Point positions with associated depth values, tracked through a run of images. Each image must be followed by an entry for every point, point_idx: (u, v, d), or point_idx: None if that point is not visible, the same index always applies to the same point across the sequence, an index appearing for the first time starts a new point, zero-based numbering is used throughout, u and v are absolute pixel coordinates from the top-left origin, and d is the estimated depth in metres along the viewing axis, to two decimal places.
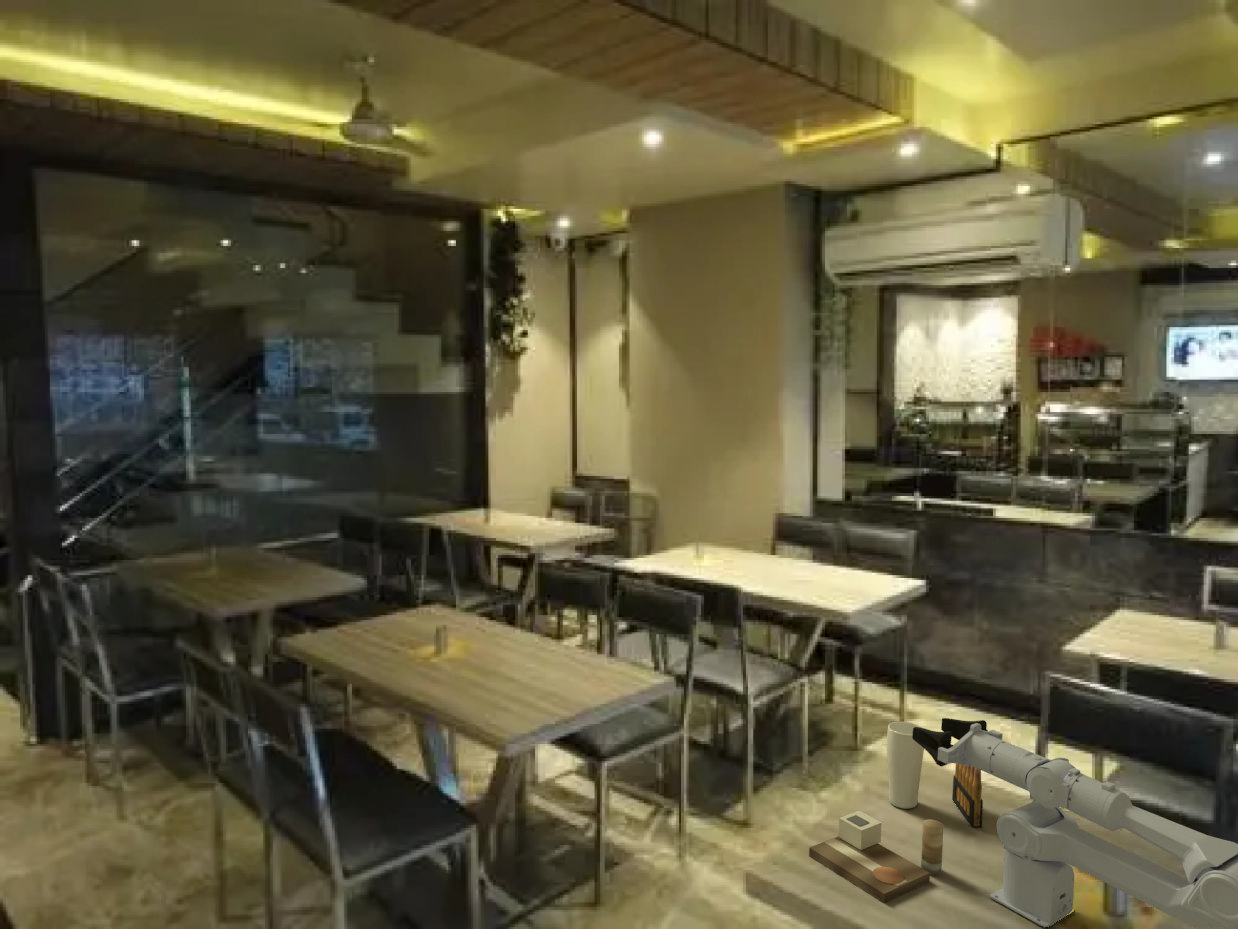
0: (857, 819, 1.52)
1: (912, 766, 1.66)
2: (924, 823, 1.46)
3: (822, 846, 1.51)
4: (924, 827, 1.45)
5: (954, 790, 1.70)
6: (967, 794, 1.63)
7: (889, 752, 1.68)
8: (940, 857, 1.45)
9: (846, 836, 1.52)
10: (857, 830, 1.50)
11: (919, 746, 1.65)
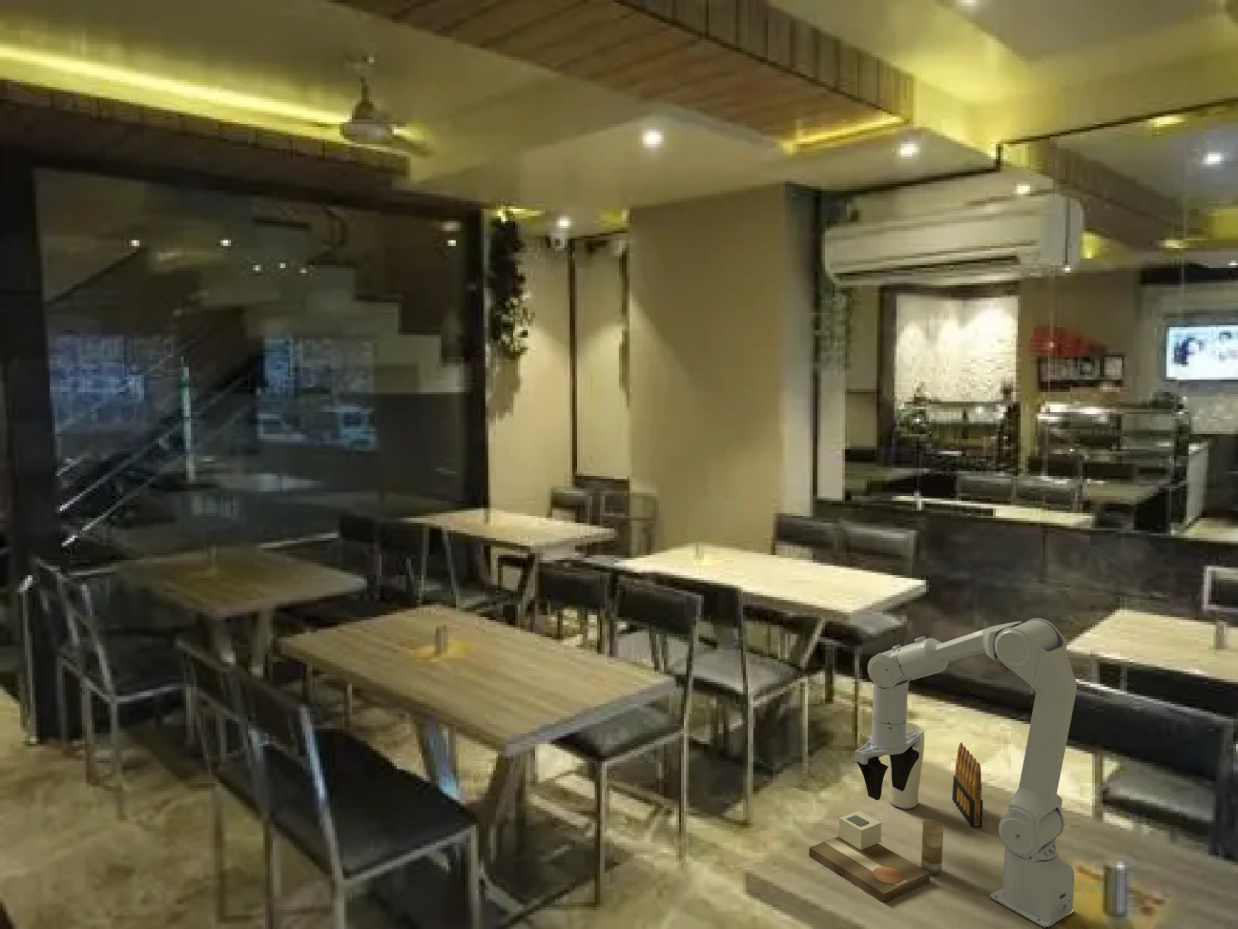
0: (857, 819, 1.52)
1: None
2: (924, 823, 1.46)
3: (822, 846, 1.51)
4: (924, 827, 1.45)
5: (954, 790, 1.70)
6: (967, 794, 1.63)
7: None
8: (940, 857, 1.45)
9: (846, 836, 1.52)
10: (857, 830, 1.50)
11: (919, 746, 1.65)
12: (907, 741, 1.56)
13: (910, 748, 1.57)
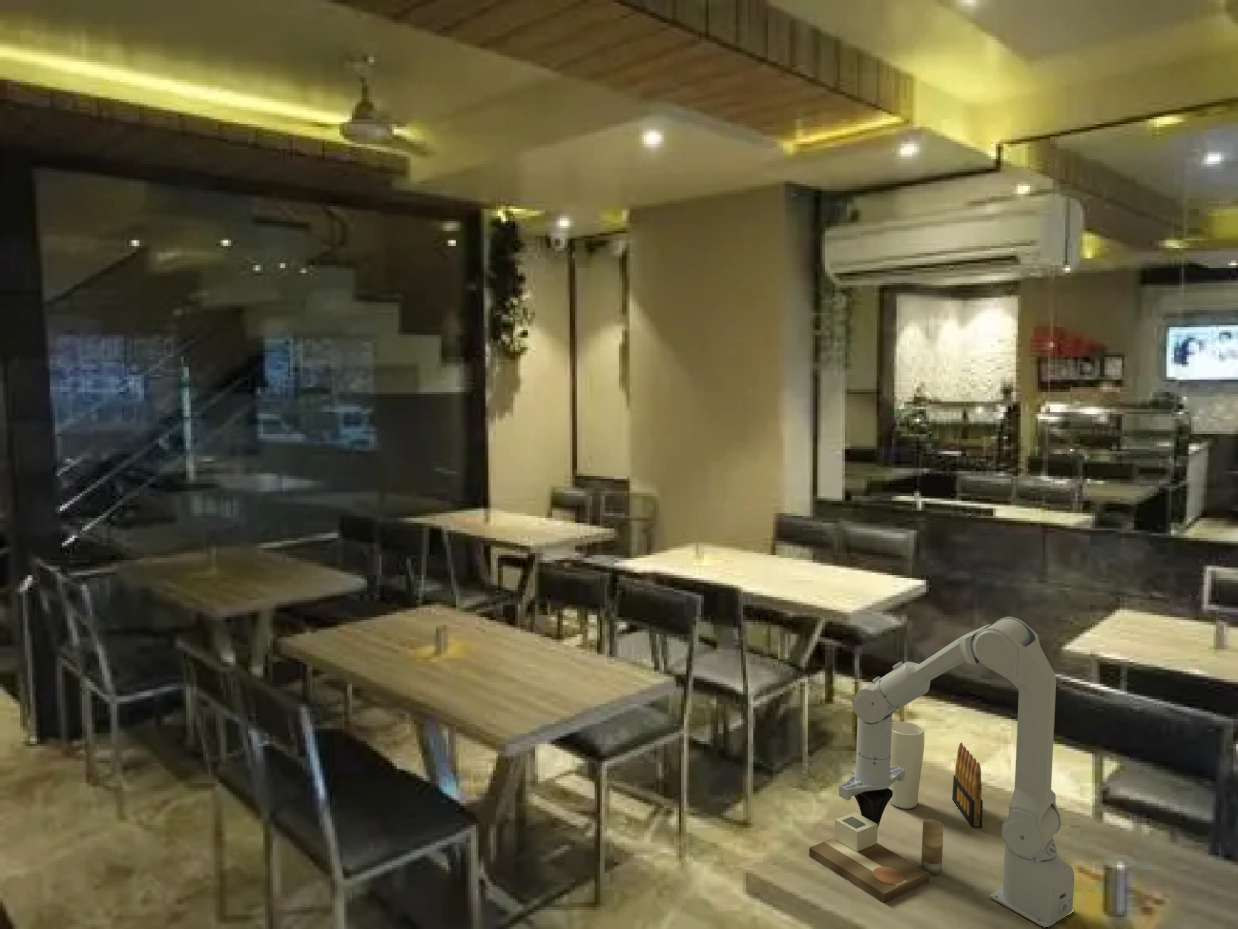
0: (853, 821, 1.52)
1: (912, 766, 1.66)
2: (924, 823, 1.46)
3: (822, 846, 1.51)
4: (924, 827, 1.45)
5: (954, 790, 1.70)
6: (967, 794, 1.63)
7: None
8: (940, 857, 1.45)
9: (842, 838, 1.51)
10: (853, 832, 1.49)
11: (919, 746, 1.65)
12: (892, 775, 1.55)
13: None
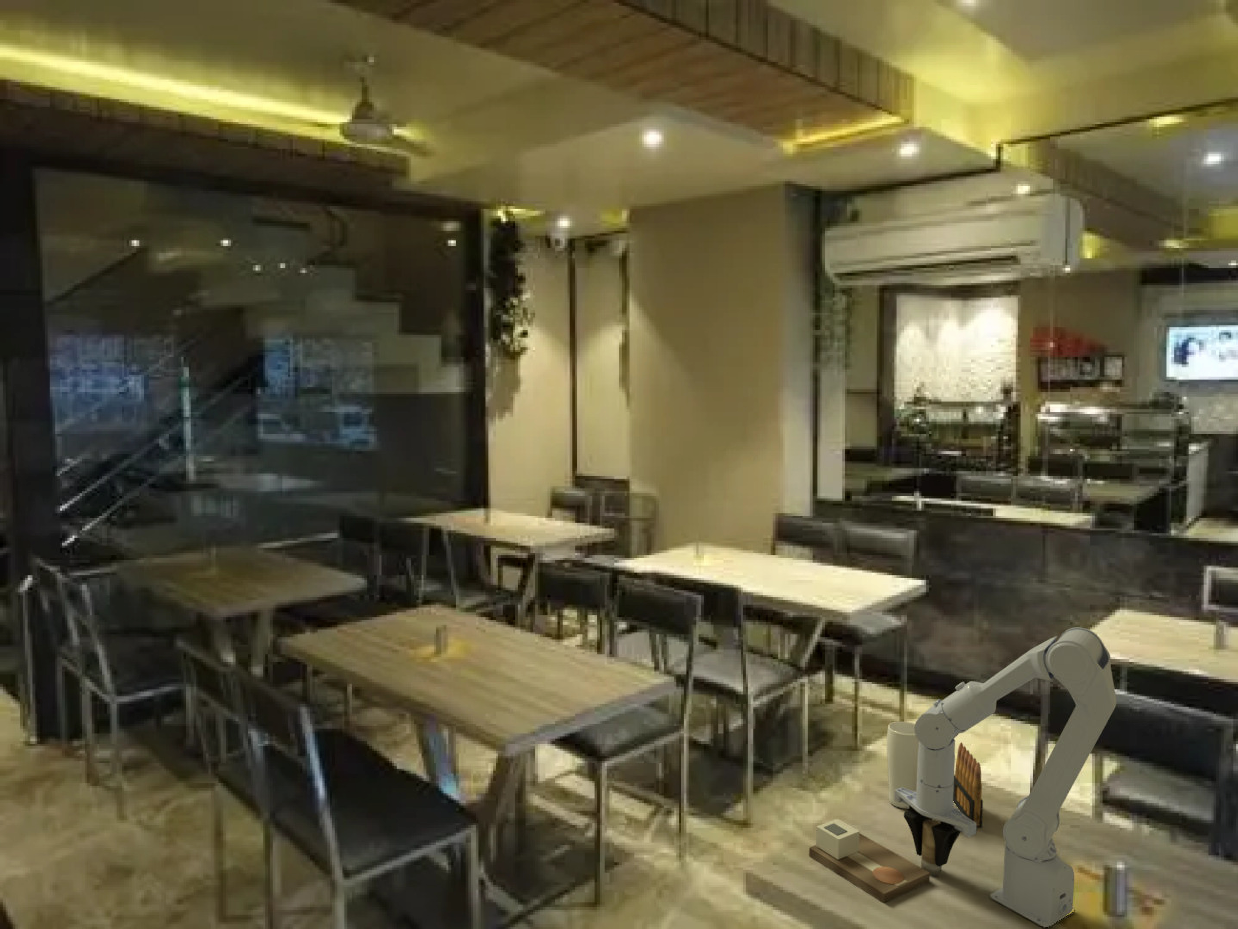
0: (835, 828, 1.49)
1: (912, 766, 1.66)
2: (924, 823, 1.46)
3: None
4: (924, 827, 1.45)
5: (954, 790, 1.70)
6: (967, 794, 1.63)
7: (889, 752, 1.68)
8: None
9: (823, 845, 1.49)
10: (834, 839, 1.47)
11: None
12: None
13: (949, 827, 1.42)
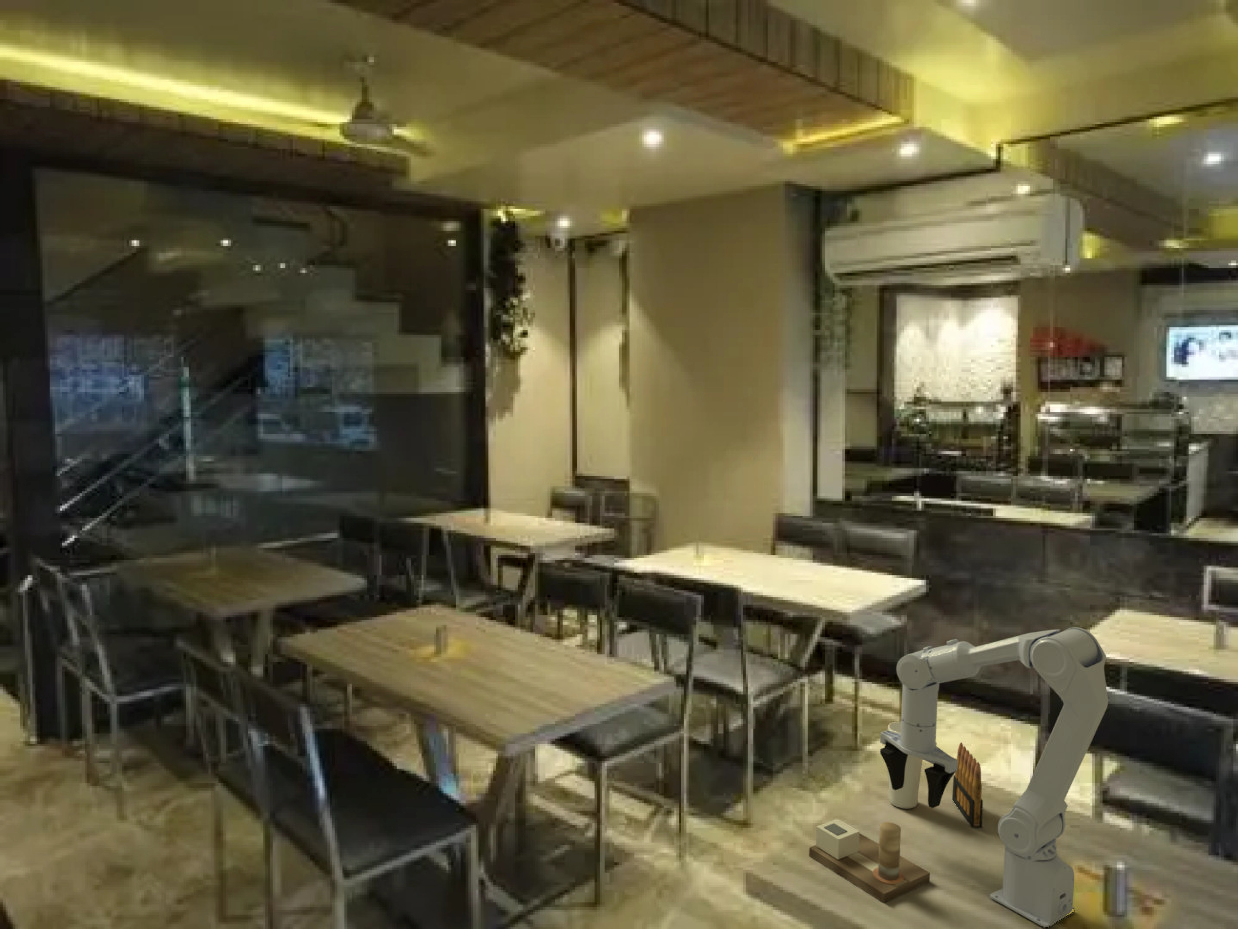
0: (835, 828, 1.49)
1: (912, 766, 1.66)
2: (881, 827, 1.41)
3: None
4: (882, 831, 1.40)
5: (954, 790, 1.70)
6: (967, 794, 1.63)
7: None
8: (898, 860, 1.41)
9: (823, 845, 1.49)
10: (834, 839, 1.47)
11: None
12: None
13: (941, 769, 1.46)
